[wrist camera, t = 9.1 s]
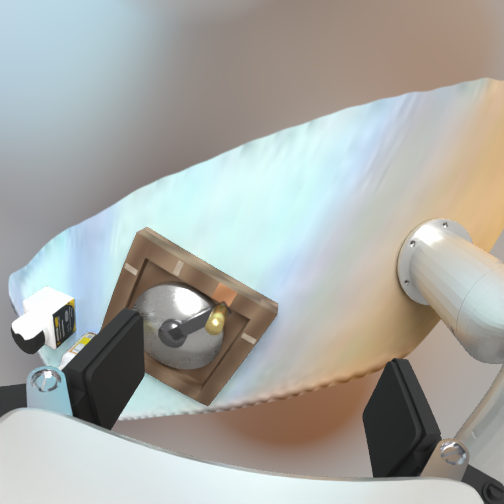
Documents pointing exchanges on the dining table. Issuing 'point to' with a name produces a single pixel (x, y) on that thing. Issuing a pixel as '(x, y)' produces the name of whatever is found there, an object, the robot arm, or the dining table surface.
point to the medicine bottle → (44, 320)
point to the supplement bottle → (76, 348)
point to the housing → (211, 284)
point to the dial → (181, 324)
